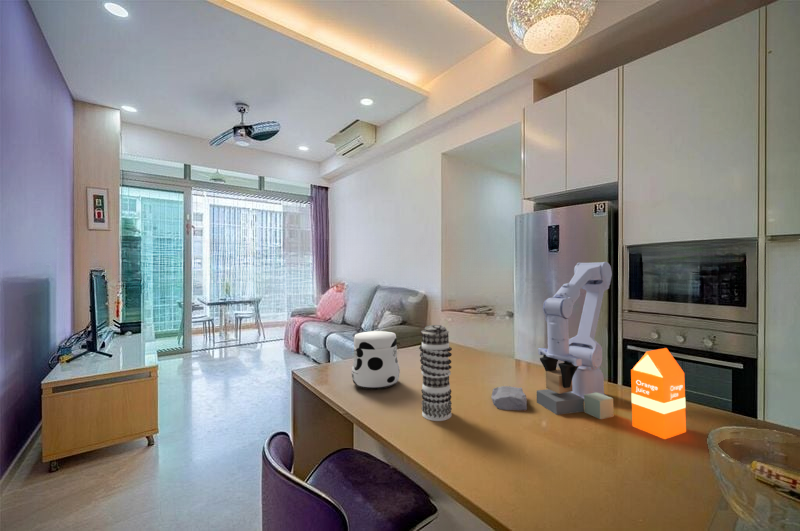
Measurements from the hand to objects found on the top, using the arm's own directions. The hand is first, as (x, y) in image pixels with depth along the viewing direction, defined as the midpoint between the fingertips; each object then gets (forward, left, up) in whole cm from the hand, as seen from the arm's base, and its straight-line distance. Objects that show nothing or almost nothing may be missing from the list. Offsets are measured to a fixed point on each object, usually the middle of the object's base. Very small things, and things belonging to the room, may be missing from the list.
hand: (559, 384), depth 100 cm
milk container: (+45, -40, -7) cm, 61 cm away
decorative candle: (+36, -9, -7) cm, 38 cm away
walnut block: (0, 0, -2) cm, 2 cm away
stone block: (+12, -9, -7) cm, 16 cm away
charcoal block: (0, 0, -7) cm, 7 cm away
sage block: (-6, +8, -7) cm, 12 cm away
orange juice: (-12, +20, -7) cm, 24 cm away
